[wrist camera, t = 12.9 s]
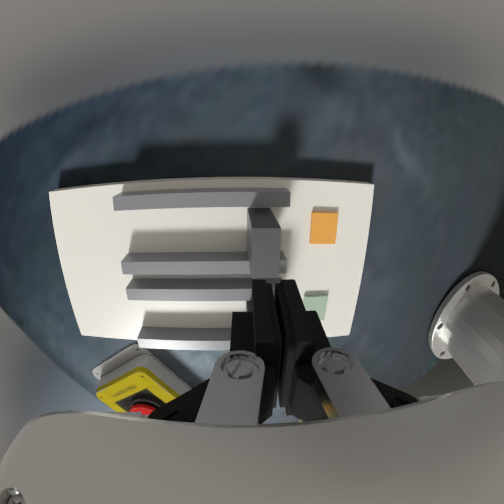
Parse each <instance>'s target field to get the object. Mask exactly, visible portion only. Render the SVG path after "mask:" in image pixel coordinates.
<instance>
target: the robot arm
mask: <svg viewBox="0 0 504 504" xmlns="http://www.w3.org/2000/svg"><path fill="white" fill-rule="evenodd" d="M428 341H429V347H430V349H431V351H432V352H433V353H434V354H435V356H437V357H438V358H441V359H449V358H454V360H455V361H456V362H457V363H458V364H459V366H460V367H461V368H462V369H463V371H464V372H465V373H466V374H467V376H468V377H469V378H470V379H471V381H472V382H473V383H474V385H475V386H471V387H468V388H465V389H462V390H458V391H455V392H451V393H448V394H445V395H440V396H439V395H438V396H422V397H419V399H418V400H417V399H416V398H415V397H413V396H411V395H409V394H407V393H405V392H402V391H400V390H398V389H395V388H393V387H391V386H388V385H386V384H384V383H381V382H379V381H377V380H374V379H372V378H370V377H369V376H368V374H367V373H366V371H365V370H364V369H363V367H362V366H361V364H360V363H359V362H358V360H357V359H356V357H355V356H354V355H353V354H352V353H350V352H349V351H347V350H344V349H341V348H335V347H331V346H330V344H329V341H328V339H327V336H326V334H325V331H324V329H323V326H322V324H321V321H320V319H319V316H318V314H317V312H316V311H315V310H313V311H306V309H305V307H304V304H303V301H302V298H301V295H300V293H299V290H298V287H297V284H296V281H295V279H281V280H280V283H275V294H274V295H273V289H272V284H271V283H266V280H252V306H251V312H232V324H231V341H230V352H228V353H225V354H223V355H222V356H221V357H219V358H218V360H217V361H216V363H215V366H214V369H213V372H212V374H211V377H210V379H208V380H206V381H205V382H203V383H201V384H199V385H198V386H196V387H194V388H193V389H191V390H189V391H187V392H186V393H184V394H182V395H180V396H178V397H177V398H175V399H173V400H171V401H169V402H168V403H166V404H164V405H162V406H160V407H158V408H157V409H155V410H154V411H152V412H151V413H150V415H143V414H142V412H94V411H72V410H71V411H57V412H50V413H46V414H42V415H39V416H37V417H35V418H33V419H32V420H31V421H29V422H28V423H27V424H26V425H25V426H24V427H23V429H22V430H21V431H20V433H19V434H18V435H17V437H16V438H15V439H14V441H13V442H12V444H11V446H10V447H9V449H8V451H7V452H6V454H5V456H4V458H3V460H2V462H1V464H0V504H504V299H502V298H501V297H500V296H499V284H498V282H497V280H496V278H495V277H494V276H492V275H491V274H489V273H488V272H484V271H480V272H476V273H473V274H471V275H469V276H467V277H466V278H464V279H463V280H462V281H461V282H459V283H458V284H457V285H456V286H455V287H454V288H453V289H452V290H451V291H450V293H449V294H448V295H447V297H446V298H445V299H444V301H443V302H442V304H441V305H440V307H439V309H438V310H437V312H436V314H435V316H434V319H433V321H432V324H431V327H430V331H429V338H428ZM277 393H278V396H279V404H280V407H285V408H286V415H294V416H295V417H297V418H299V419H300V420H299V422H292V423H275V424H262V423H263V422H264V421H265V420H267V419H268V418H269V417H270V416H271V415H272V410H273V408H276V401H277Z"/></svg>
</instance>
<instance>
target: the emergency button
mask: <svg viewBox="0 0 504 504" xmlns="http://www.w3.org/2000/svg"><path fill="white" fill-rule="evenodd" d="M92 372H93V374H94V376H95V377H96V378H97V379H98V380H100V382H99V386H98V389H97V392H96V395H97V397H98V398H99V399H100V400H101V401H103V402H104V403H105V404H106V405H108V406H109V407H110V408H112V409H113V410H114V411H116V412H142V414H143V415H150V413H151V412H152V411H154V410H155V409H157V408H158V407H160V406H162V405H164V404H166V403H168V402H169V401H171V400H173V399H175V398H177V397H178V396H180V395H182V394H184V393H186V392H187V391H189V390H191V389H192V388H191V387H190V386H189V385H187V384H186V383H185V382H184V381H182V380H181V379H180V378H179V377H178V376H176V375H175V374H174V373H173V372H172V371H171V370H169V369H168V368H167V367H166V366H165V365H164V364H163V363H161V362H160V361H159V360H158V359H157V358H156V357H155V356H154V355H153V354H151V353H150V352H149V351H148V350H147V349H146V348H139V345H138V344H132V345H130V346H128V347H127V348H125V349H124V350H122V351H120V352H119V353H117V354H116V355H114V356H112V357H111V358H109V359H108V360H106V361H104V362H103V363H101V364H99V365H98V366H96V367H95V368H94V369H93V370H92Z"/></svg>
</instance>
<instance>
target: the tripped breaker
mask: <svg viewBox="0 0 504 504" xmlns="http://www.w3.org/2000/svg"><path fill="white" fill-rule="evenodd" d="M280 245H281V227H280V225H279V223H278V221H277V220H276V218H275V216H274V214H273V213H272V211H271V209H270V208H247V252H248V260H249V267H250V274H251V279H252V278H279V264H280Z"/></svg>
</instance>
